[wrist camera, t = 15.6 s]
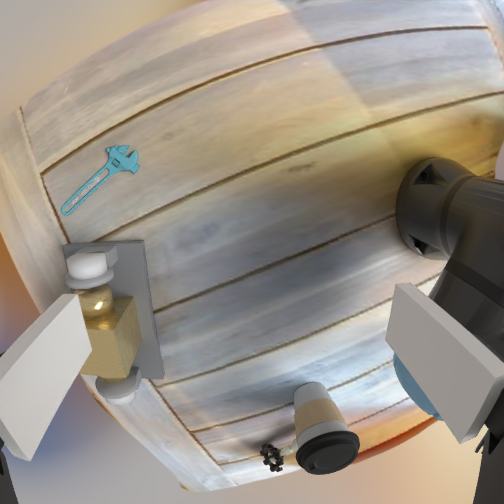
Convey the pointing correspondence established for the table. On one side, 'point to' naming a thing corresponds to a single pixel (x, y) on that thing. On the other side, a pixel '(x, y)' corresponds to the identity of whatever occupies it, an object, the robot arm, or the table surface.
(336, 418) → the coffee cup
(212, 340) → the table surface
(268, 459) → the valve
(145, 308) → the pipe run plate
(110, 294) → the brass gate valve
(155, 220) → the table surface
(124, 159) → the adjustable wrench
